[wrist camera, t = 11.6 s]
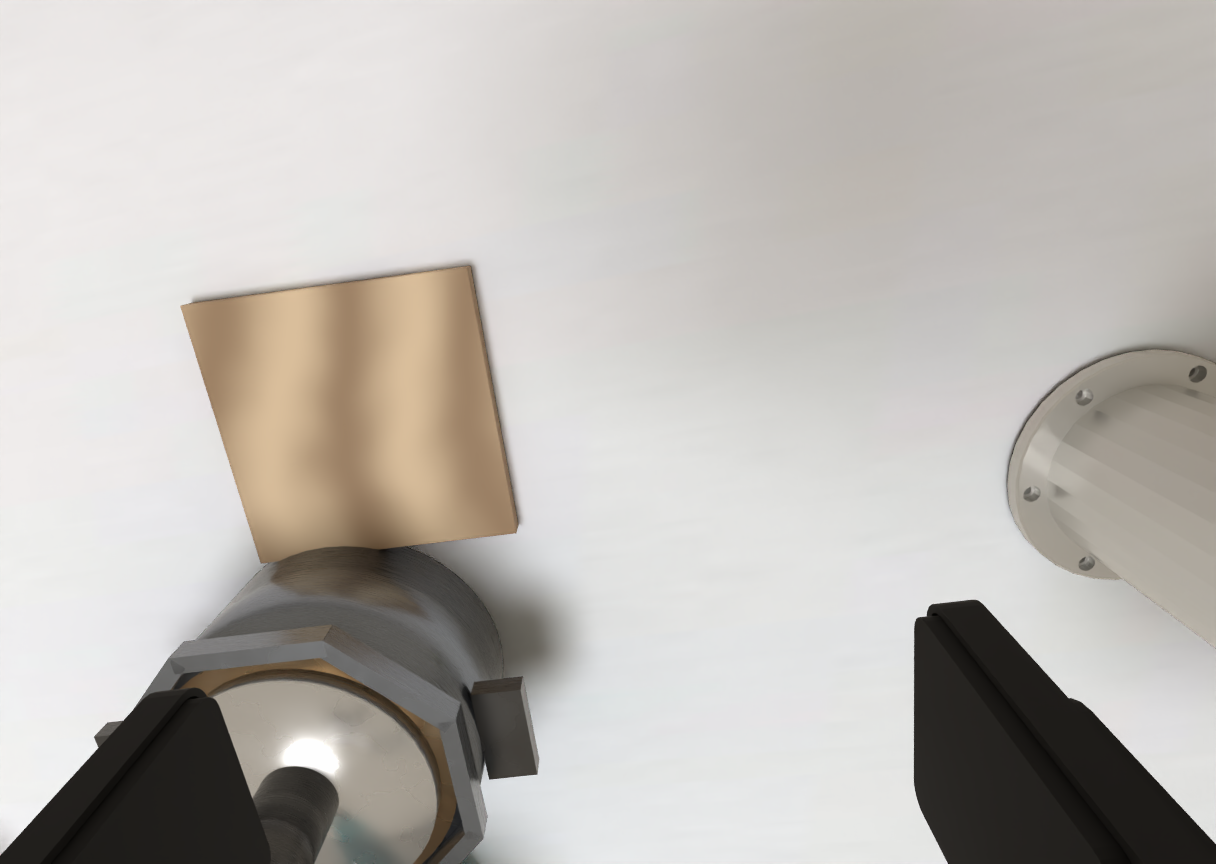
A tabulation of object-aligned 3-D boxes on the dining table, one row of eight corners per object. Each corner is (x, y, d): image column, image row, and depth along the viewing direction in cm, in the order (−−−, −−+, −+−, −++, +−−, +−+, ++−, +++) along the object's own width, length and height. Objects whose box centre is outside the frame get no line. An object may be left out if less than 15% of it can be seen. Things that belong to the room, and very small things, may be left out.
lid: (496, 786, 34) (474, 906, 28) (324, 919, 37) (272, 1054, 31) (288, 617, 31) (216, 713, 25) (117, 776, 34) (18, 895, 28)
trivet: (470, 265, 35) (466, 267, 35) (518, 524, 40) (516, 532, 39) (191, 302, 36) (180, 305, 35) (269, 554, 40) (260, 563, 39)
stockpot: (519, 516, 40) (490, 621, 30) (562, 752, 45) (550, 908, 35) (149, 560, 40) (5, 677, 31) (232, 787, 45) (131, 949, 36)
